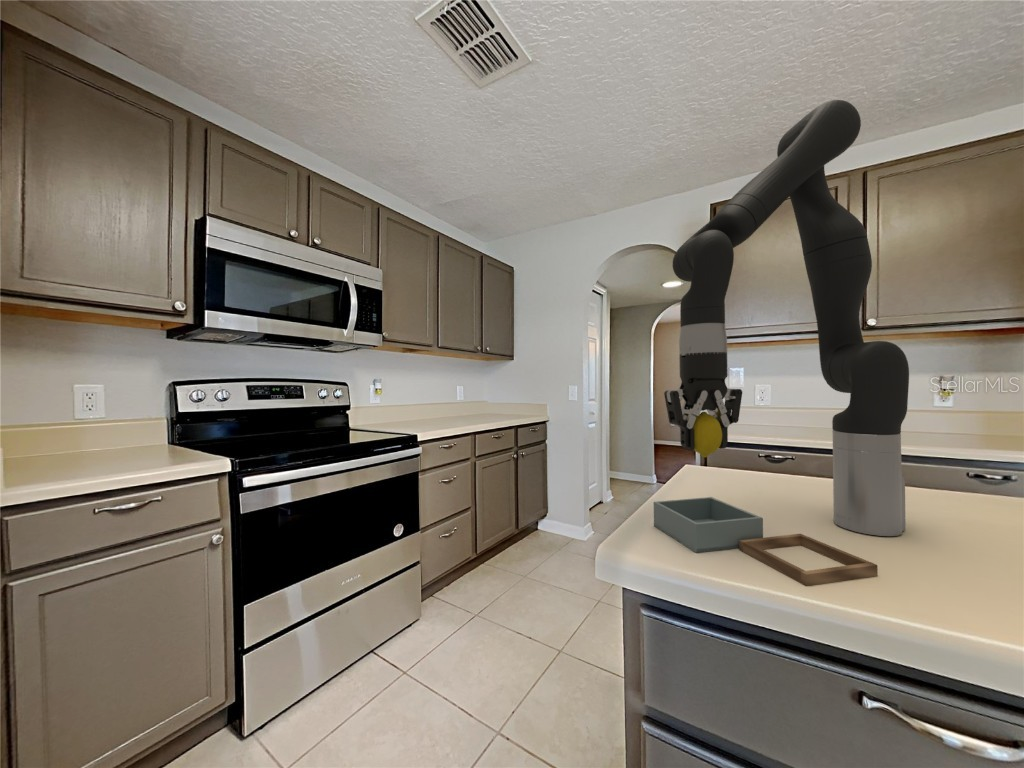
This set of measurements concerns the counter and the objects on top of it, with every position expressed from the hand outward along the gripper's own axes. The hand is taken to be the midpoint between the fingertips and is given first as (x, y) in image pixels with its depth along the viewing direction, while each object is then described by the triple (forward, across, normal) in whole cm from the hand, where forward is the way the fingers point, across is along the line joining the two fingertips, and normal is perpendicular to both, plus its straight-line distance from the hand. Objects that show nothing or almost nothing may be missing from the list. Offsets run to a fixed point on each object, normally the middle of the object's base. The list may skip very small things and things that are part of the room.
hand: (704, 448), depth 70 cm
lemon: (+2, 0, 0) cm, 2 cm away
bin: (+15, 0, 0) cm, 15 cm away
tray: (+15, -7, +12) cm, 21 cm away
